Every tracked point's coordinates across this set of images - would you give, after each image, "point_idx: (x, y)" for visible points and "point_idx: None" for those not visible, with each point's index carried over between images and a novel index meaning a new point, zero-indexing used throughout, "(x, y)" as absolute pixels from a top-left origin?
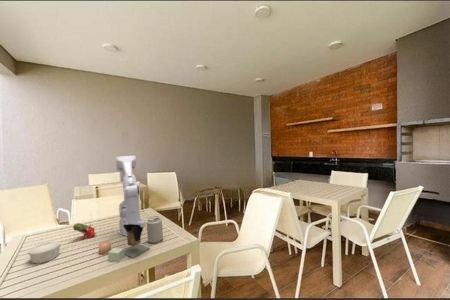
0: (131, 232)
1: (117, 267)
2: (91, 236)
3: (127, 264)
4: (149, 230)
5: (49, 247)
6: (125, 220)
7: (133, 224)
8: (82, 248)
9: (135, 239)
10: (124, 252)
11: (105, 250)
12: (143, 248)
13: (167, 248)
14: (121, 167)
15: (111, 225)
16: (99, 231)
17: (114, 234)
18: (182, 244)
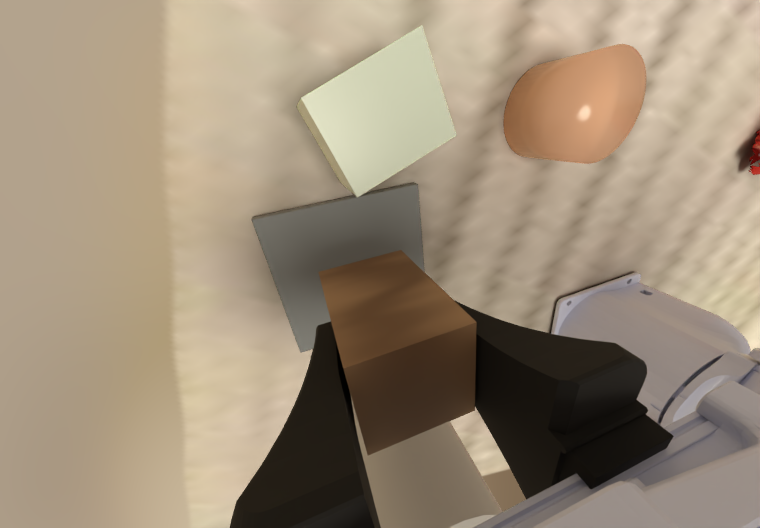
0: (402, 367)
1: (187, 40)
2: (757, 143)
3: (176, 138)
4: (404, 454)
5: None
6: (754, 525)
7: (524, 467)
8: (719, 23)
9: (324, 333)
10: (347, 188)
11: (530, 95)
12: (328, 320)
13: (210, 427)
14: None
15: (722, 274)
16: (743, 207)
17: (647, 252)
18: (190, 496)
